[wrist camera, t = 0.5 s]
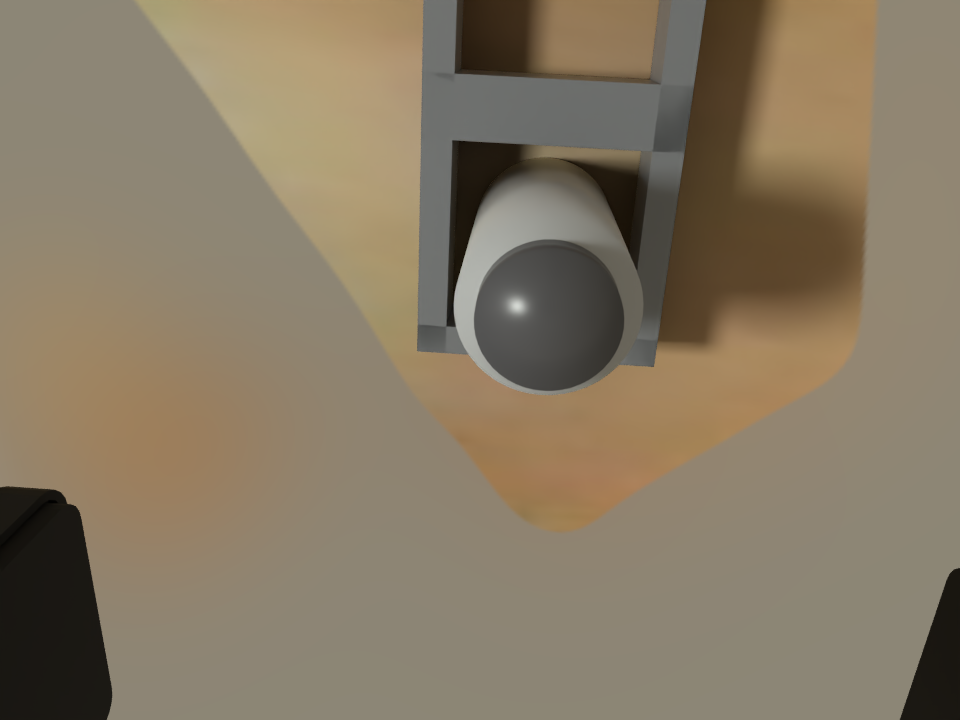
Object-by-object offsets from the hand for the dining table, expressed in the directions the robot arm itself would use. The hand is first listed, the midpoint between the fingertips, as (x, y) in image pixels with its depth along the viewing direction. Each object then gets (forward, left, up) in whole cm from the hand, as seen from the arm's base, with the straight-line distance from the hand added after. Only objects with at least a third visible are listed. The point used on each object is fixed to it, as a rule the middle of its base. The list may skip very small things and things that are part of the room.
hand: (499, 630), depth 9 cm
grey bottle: (+2, +1, -28) cm, 28 cm away
